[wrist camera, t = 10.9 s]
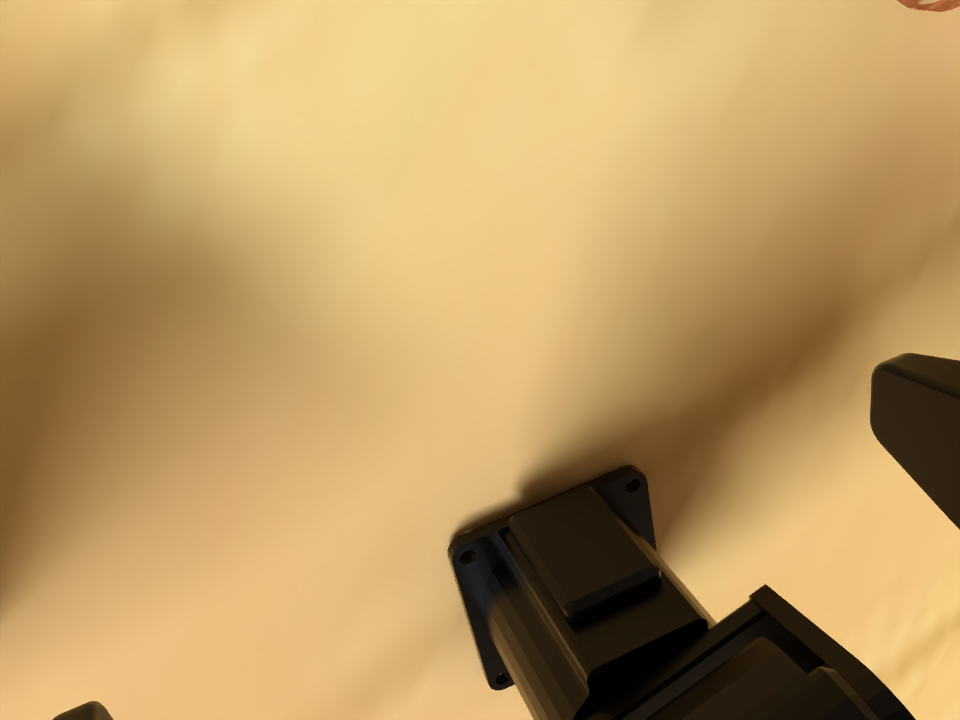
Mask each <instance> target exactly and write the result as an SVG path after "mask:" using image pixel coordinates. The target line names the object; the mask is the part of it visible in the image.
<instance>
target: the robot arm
mask: <svg viewBox="0 0 960 720" xmlns="http://www.w3.org/2000/svg"><path fill="white" fill-rule="evenodd" d="M870 423H871V428H872V430H873V433H874V435H875V436H876V438H877V440H878V441H879V442H880V443H881V445H882V446H883V447H884V448H885V449H886V450H887V451H888V452H889V453H890V454H891V455H892V457H893V458H894V459H895V460H896V461H897V462H898V463H899V464H900V465H901V466H902V467H903V469H904V470H905V471H906V472H907V473H908V474H909V475H910V476H911V477H912V478H913V480H914V481H915V482H916V483H917V484H918V485H919V486H920V487H921V488H922V489H923V490H924V492H925V493H926V494H927V495H928V496H929V497H930V498H931V499H932V500H933V501H934V502H935V504H936V505H937V506H938V507H939V508H940V509H941V510H942V511H943V512H944V513H945V514H946V516H947V517H948V518H949V519H950V520H951V521H952V522H953V523H954V524H955V525H956V526H957V527H958V528H959V529H960V361H958V360H952V359H946V358H939V357H933V356H927V355H920V354H914V353H905V354H901V355H898V356H896V357H894V358H891V359H889V360H887V361H884V362H882V363H880V364H878V365H877V366H876V367H875V369H874V371H873V373H872V379H871V407H870ZM631 479H633V480H632V481H631V483H630V484H628V485H626V484H627V483H628V482H629V481H630V480H631ZM466 550H470V551H469V553H467V554H466V555H463V556H461V554H462V553H463V552H465V551H466ZM448 558H449V561H450V564H451V568H452V571H453V574H454V577H455V581H456V584H457V587H458V591H459V594H460V597H461V600H462V604H463V607H464V610H465V613H466V617H467V620H468V623H469V627H470V630H471V633H472V636H473V640H474V643H475V646H476V650H477V653H478V656H479V659H480V663H481V666H482V669H483V672H484V676H485V678H486V680H487V682H488V684H489V686H490V687H491V689H494V690H503V689H506V688H508V687H510V686H512V685H514V684H515V685H516V687H517V689H518V691H519V693H520V695H521V697H522V698H523V700H524V702H525V704H526V706H527V708H528V710H529V712H530V714H531V716H532V717H533V719H534V720H916V719H915V718H914V717H913V716H912V714H911V713H910V712H909V711H908V710H907V709H906V707H905V706H904V705H903V704H902V703H901V702H900V701H899V699H898V698H897V697H896V696H895V695H894V694H893V693H892V692H891V691H890V690H889V689H888V687H887V686H886V685H885V684H884V683H883V682H882V681H881V680H880V679H879V678H878V677H877V676H876V675H875V674H874V673H873V672H872V671H870V670H869V669H868V668H867V667H866V666H865V665H864V664H863V663H861V662H860V661H859V660H858V659H857V658H856V657H854V656H853V655H852V654H851V653H849V652H848V651H847V650H846V649H845V648H843V647H842V646H841V645H840V644H838V643H837V642H836V641H835V640H833V639H832V638H831V637H830V636H829V635H827V634H826V633H825V632H824V631H822V630H821V629H820V628H819V627H818V626H816V625H815V624H814V623H813V622H811V621H810V620H809V619H808V618H806V617H805V616H804V615H803V614H802V613H800V612H799V611H798V610H797V609H795V608H794V607H793V606H792V605H790V604H789V603H788V602H787V601H786V600H784V599H783V598H782V597H781V596H779V595H778V594H777V593H776V592H775V591H773V590H772V589H771V588H770V587H768V586H767V585H766V584H765V585H764V586H762V587H761V588H759V589H758V590H757V591H755V592H754V593H752V594H751V595H750V596H749V599H750V600H749V601H747V602H746V603H745V604H743V605H742V606H741V607H739V608H738V609H736V610H735V611H734V612H732V613H731V614H729V615H728V616H727V617H725V618H724V619H723V620H721V621H720V622H718V623H716V621H715V620H714V619H713V618H712V617H711V615H710V614H709V613H708V612H707V611H706V610H705V608H704V607H703V606H702V605H701V604H700V603H699V601H698V600H697V599H696V598H695V597H694V596H693V594H692V593H691V592H690V591H689V590H688V589H687V587H686V586H685V585H684V584H683V583H682V582H681V580H680V579H679V578H678V577H677V576H676V575H675V573H674V572H673V571H672V570H671V569H670V568H669V566H668V565H667V564H666V563H665V562H664V561H663V559H662V558H661V557H660V556H659V555H658V554H657V552H656V544H655V537H654V529H653V522H652V514H651V507H650V500H649V492H648V485H647V479H646V476H645V475H644V474H643V473H642V472H641V471H640V470H639V469H638V468H637V467H636V466H633V465H628V466H624V467H622V468H619V469H617V470H615V471H612V472H610V473H608V474H605V475H603V476H600V477H598V478H596V479H593V480H591V481H589V482H586V483H584V484H582V485H579V486H577V487H575V488H572V489H570V490H568V491H565V492H563V493H560V494H558V495H556V496H553V497H551V498H549V499H546V500H544V501H542V502H539V503H537V504H535V505H532V506H530V507H528V508H525V509H523V510H520V511H518V512H516V513H513V514H511V515H509V516H506V517H504V518H502V519H499V520H497V521H495V522H492V523H490V524H488V525H485V526H483V527H481V528H478V529H476V530H473V531H471V532H469V533H466V534H464V535H462V536H459V537H458V538H456V539H455V540H453V542H452V543H451V544H450V545H449V548H448ZM501 673H502V674H501ZM500 674H501V675H500ZM53 720H113V718H112V717H111V715H110V714H109V712H108V711H107V709H106V708H105V707H104V706H103V705H102V704H101V703H99V702H97V701H90V702H87V703H85V704H83V705H80V706H78V707H76V708H73V709H71V710H69V711H66V712H64V713H62V714H59V715H58V716H56V717H55V718H54V719H53Z"/></svg>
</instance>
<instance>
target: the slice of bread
mask: <svg viewBox="0 0 960 720" xmlns="http://www.w3.org/2000/svg"><path fill="white" fill-rule="evenodd" d="M897 1H899V2H900V3H902V4H903V5H905V6H906V7H908V8H911V9H917V10H928V11H937V12H943V11H948V10H952V9H954V8H956V7H958V6H960V0H897Z"/></svg>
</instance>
